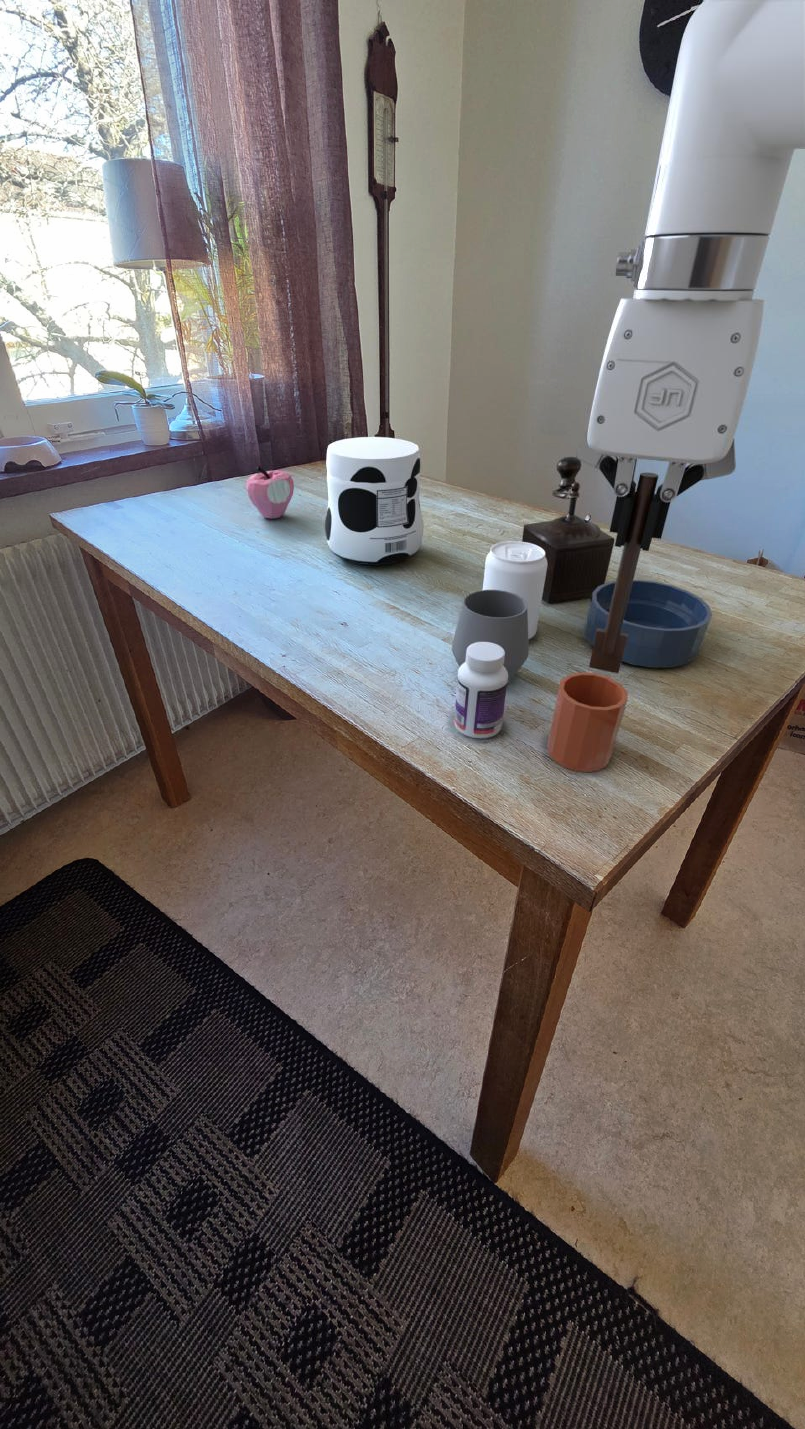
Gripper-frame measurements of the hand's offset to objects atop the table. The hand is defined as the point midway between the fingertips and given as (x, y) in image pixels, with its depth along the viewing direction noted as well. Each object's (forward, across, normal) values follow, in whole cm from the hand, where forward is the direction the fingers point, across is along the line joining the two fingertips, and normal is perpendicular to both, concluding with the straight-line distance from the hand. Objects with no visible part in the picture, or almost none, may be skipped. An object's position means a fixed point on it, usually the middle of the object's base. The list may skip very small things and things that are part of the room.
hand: (633, 542), depth 51 cm
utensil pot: (+23, -1, 0) cm, 23 cm away
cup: (+23, -14, +11) cm, 29 cm away
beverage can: (+23, -15, +23) cm, 36 cm away
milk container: (+23, -44, +41) cm, 65 cm away
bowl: (+23, +3, +28) cm, 36 cm away
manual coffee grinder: (+23, -13, +43) cm, 51 cm away
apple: (+22, -72, +50) cm, 91 cm away
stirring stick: (+13, 0, 0) cm, 13 cm away
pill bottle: (+23, -12, 0) cm, 26 cm away
